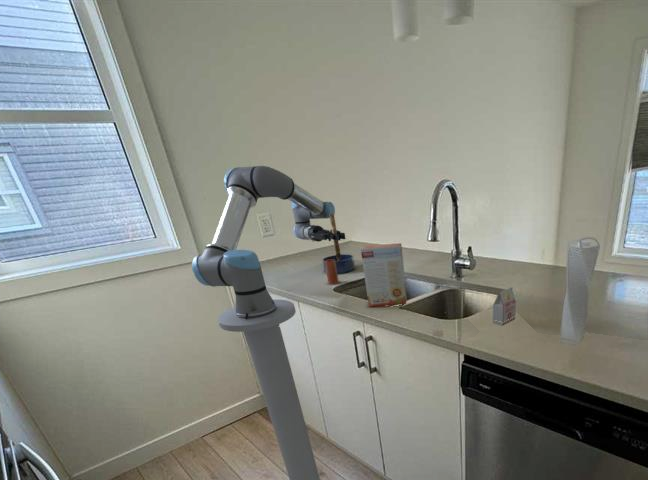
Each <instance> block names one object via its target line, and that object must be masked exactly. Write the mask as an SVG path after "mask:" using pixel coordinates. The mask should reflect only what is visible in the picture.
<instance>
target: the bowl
mask: <svg viewBox="0 0 648 480" xmlns="http://www.w3.org/2000/svg"><path fill="white" fill-rule="evenodd" d="M340 254H341V253H340ZM328 259H335V263H336V269H337V274H338V275H339V274H345V273H349V272H352V271H353V270H355V268H356V265H355V258H354V255H353V254H347V253H345V254H344V253H342V254H341V258H340V259H341V261H338V259H337V257H336V254H334V255H328V256H326V257H323V258H322V259H321V262H322V267H323V268H322V269H323V271H324V273H326V268H325V262H324V261H325V260H328Z"/></svg>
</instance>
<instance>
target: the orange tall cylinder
mask: <svg viewBox="0 0 648 480" xmlns="http://www.w3.org/2000/svg"><path fill="white" fill-rule="evenodd" d="M324 262H325V268H326V272H325V274H326V279H327V282H328V285H337V284H339V283H340V281H339V274H337V269H336V263H335V259H328V260H325V261H324Z"/></svg>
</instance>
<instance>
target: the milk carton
mask: <svg viewBox="0 0 648 480" xmlns="http://www.w3.org/2000/svg"><path fill="white" fill-rule="evenodd" d="M516 308H517V300H516V297H515V293H514V290H513V287H508V288H506V289H504V290H502V291H499V292H498V293H497V296H496V298H495V299H494V302H493V304H492V324H494V325H497V326H502V327H503V326H505V325H507V324H509V323H510V322H513V321H514V320H516V310H517V309H516ZM514 316H515V317H514ZM512 317H513V318H512ZM510 318H511V319H510ZM508 319H509V320H508ZM494 320H497V321H494ZM506 320H507V321H506ZM498 321H501V322H503V323H501V322H498ZM504 321H505V322H504Z"/></svg>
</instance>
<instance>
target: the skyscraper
mask: <svg viewBox="0 0 648 480" xmlns="http://www.w3.org/2000/svg"><path fill="white" fill-rule="evenodd" d="M591 240H593V241H595V244H594V243H591V242H592V241H591ZM600 248H601V244H600V241H599V240H598V239H597V238H596V237H593V236H583V237H581V238H580V239H574V240H573V239H572V240H570V241H569V242H567V249H566V265H565V266H566V267H565V269H566V271H565V274H566V275H565V277H566V279H565V280H566V284H565V285H566V291H565V294H564V300H563V307H562V314H561V324H560V332H559V344H563V345H569V346H577V347H580V346H581V342H582V341H583V339H584V336H585V331H586V327H587V320H588V316H589V306H590V284H591V281H592V278H593V275H594V272H595V269H596V265H597V260H598V256H599V251H600ZM582 335H584V336H582ZM581 336H582V338H581ZM560 338H566V339H571V340H576V341H579V339H580V338H581V339H580V341H579V343H577V342H573V341H567V340H560Z"/></svg>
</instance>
